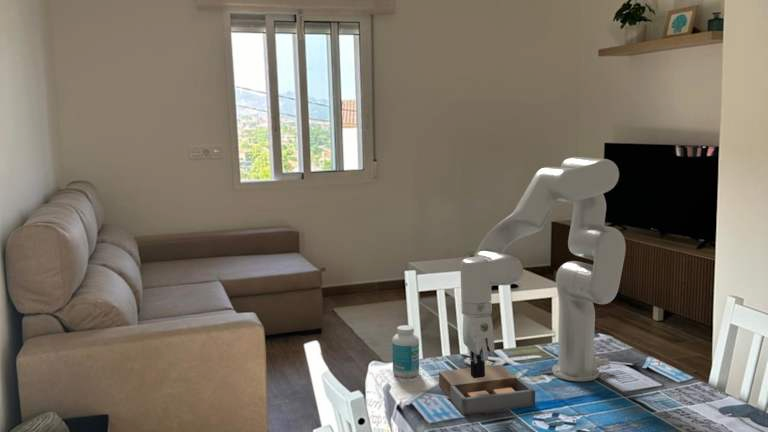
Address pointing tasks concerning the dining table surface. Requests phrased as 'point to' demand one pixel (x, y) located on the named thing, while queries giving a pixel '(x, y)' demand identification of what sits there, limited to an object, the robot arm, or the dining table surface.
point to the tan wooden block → (477, 380)
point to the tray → (494, 400)
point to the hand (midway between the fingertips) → (477, 376)
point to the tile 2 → (502, 390)
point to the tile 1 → (477, 393)
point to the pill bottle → (405, 352)
